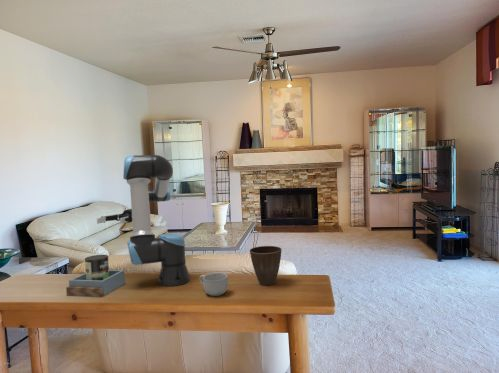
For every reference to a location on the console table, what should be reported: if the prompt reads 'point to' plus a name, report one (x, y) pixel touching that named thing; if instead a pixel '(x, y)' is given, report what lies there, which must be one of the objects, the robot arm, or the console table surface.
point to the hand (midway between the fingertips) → (109, 220)
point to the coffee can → (97, 267)
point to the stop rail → (85, 291)
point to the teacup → (215, 283)
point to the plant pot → (266, 263)
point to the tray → (108, 284)
